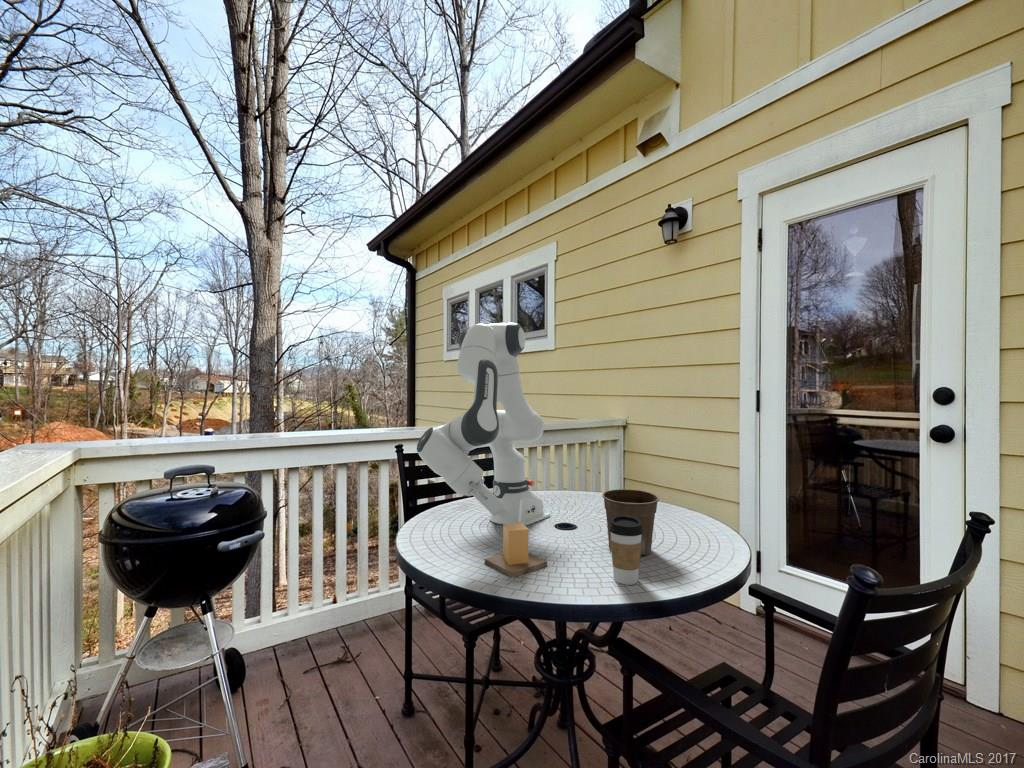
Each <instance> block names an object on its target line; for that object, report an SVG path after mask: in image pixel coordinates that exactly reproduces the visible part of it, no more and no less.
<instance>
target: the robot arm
mask: <svg viewBox="0 0 1024 768" xmlns="http://www.w3.org/2000/svg"><path fill="white" fill-rule="evenodd" d="M458 345H459V354H458V358H457V367H456V368H457V373H458V375H459V376H460V377H461V378H462V380H463V381H465V382H467V383H469V384H471V385H474V389H473V401H472V404H471V405H470V407H469V408H468V409H467V410H466V411H465V412H463V413H462V414H460V415H459V416H457V417H455V418H453V419H452V420H450V421H449V422H446V423H445V424H442V425H440V426H433V427H432V426H431V427H430V428H428V429H427V430H426V431H425V432H424V433H423V434H422V436H421V437H420V438H419V440H418V442H417V445H416V452H417V455H419V457H420V458H421V460H422V461H423V462H424V463H425V464H426V466H427V467H429V469H430V470H431V471H433V473H435V475H436V474H437V475H438V476H440V477H441V478H442V479H443V480H444V481H445V483H446V484H447V485H448V486H449V488H451V489H452V490H453V491H454V492H455V493H456V494H457V495H458V496H460V497H462V496H463V497H464V496H465V495H466V496H467V497H472V496H473V498H475V499H476V500H477V501H478V502H479V503H480V504H481V505H482V506H483V507H484V508H485V509H486V510H487V511H488V512H489V513H490V517H489V521H491V522H492V523H495V524H499V525H506V524H518V523H523V524H524V525H525V526H529V525H531V524H534V523H536V522H539V521H541V520H544V519H547V518H549V517H550V516H551V514H550V512H549V511H547V510H546V509H544V503H543V500H542V498H541V497H540V496H538V495H537V494H536V493H534V492H533V491H532V490H531V489H530V486H531V487H534V484H535V481H534V480H531V479H526V459H525V457H524V455H523V454H522V453H521V452H520V451H518V450H517V449H516V447H515V446H514V444H513V443H514V442H518V443H529V442H537V441H538V440H539V439H540V438H541V437H542V436H543V434H544V430H545V423H544V420H543V418H542V416H541V414H539V413H538V412H537V411H535V410H534V409H533V408H532V407H531V406H530V404H529V403H528V401H527V399H526V397H525V395H524V391H523V388H522V381H521V374H520V365H519V361H518V360H519V359H518V355H520V354H521V352H522V351H524V348H525V346H526V333H525V331H524V329H523V327H522V326H521V325H520V324H519V323H517V322H510V321H508V323H505V322H499V323H498V322H496V323H495V322H493V323H489V324H485V323H477V324H473V325H472V326H468V327H466V328H464V329H462V331H461V332H460V334H459V337H458ZM498 403H499V404H500V405H501V406H502V409H497V407H498V405H497V404H498ZM485 445H488V446H489V448H490V451H491V454H492V459H493V471H494V472H493V473H494V475H493V476H494V477H493V481H492V491H491V490H490V489H489V488H488V487H487V485H486V484H485V483H484V482H485V478H484V476H483V475H484V470H483V469H482V468H481V467H480V466H479V465H478V464H477V463H476V462H475V461H474V460H473V459H472V458H471V457H470V456H469V453H470V451H474V450H475V449H477V448H479V447H482V446H485Z"/></svg>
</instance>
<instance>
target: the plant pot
mask: <svg viewBox="0 0 1024 768" xmlns="http://www.w3.org/2000/svg"><path fill="white" fill-rule="evenodd" d="M602 498H603V505H604V509H605V514H606V517H605V518H606V524H607V538H608V549H609V551H611V541H610V538H611V532H610V531H609V526H610V525H611V519H612V518H613V517H616V516H630V517H634V518H636V519H638V520H639V521H640V522H641V525H642V528H643V534H642V536H641V540H642V545H641V555H640V557H642V556H644V557H646V556H648V555H650V554H651V553H652V545H653V536H654V525H655V524H654V523H655V516H656V514H657V508H658V502H659V501H660V497H659V496H658V495H657V494H655V493H653V492H648V491H645V490H640V489H631V488H630V489H625V488H621V489H620V488H619V489H609V490H607V491H604V492H603V493H602Z"/></svg>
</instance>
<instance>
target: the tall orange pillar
mask: <svg viewBox="0 0 1024 768" xmlns="http://www.w3.org/2000/svg"><path fill="white" fill-rule="evenodd" d="M502 525H503V527H502V528H503V529H502V530H503V531H502V532H503V533H502V537H503V539H502V540H503V541H502V543H503V545H502V546H503V547H502V552H503V553H502V554H503V558H504V559H505V561H506V562H507V563H508V565H512V564H522V563H528V553H529V528H528V527H527V525H524V524H523V523H518V524H506V525H504V524H502Z"/></svg>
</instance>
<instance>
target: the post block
mask: <svg viewBox="0 0 1024 768" xmlns="http://www.w3.org/2000/svg"><path fill="white" fill-rule="evenodd" d="M484 564H485V565H487V566H489V567H491V568H493V569H496V570H497V571H499V572H501V573H503V574H505V575H506V576H509V577H511V578H516V577H518V576H521V575H524V574H527V573H531V572H533V571H536V570H538V569H541V567H542V568H544V566H545V567H547V566H548V560H545V559H543V558H540V557H538V556H535V555H533V554H531V553H529V552H528V563H522V564H512V565H508V563H507V562H506V561H505V559H504V558H503V553H500V554H497V555H493V556H490V557H487V558H484Z"/></svg>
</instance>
